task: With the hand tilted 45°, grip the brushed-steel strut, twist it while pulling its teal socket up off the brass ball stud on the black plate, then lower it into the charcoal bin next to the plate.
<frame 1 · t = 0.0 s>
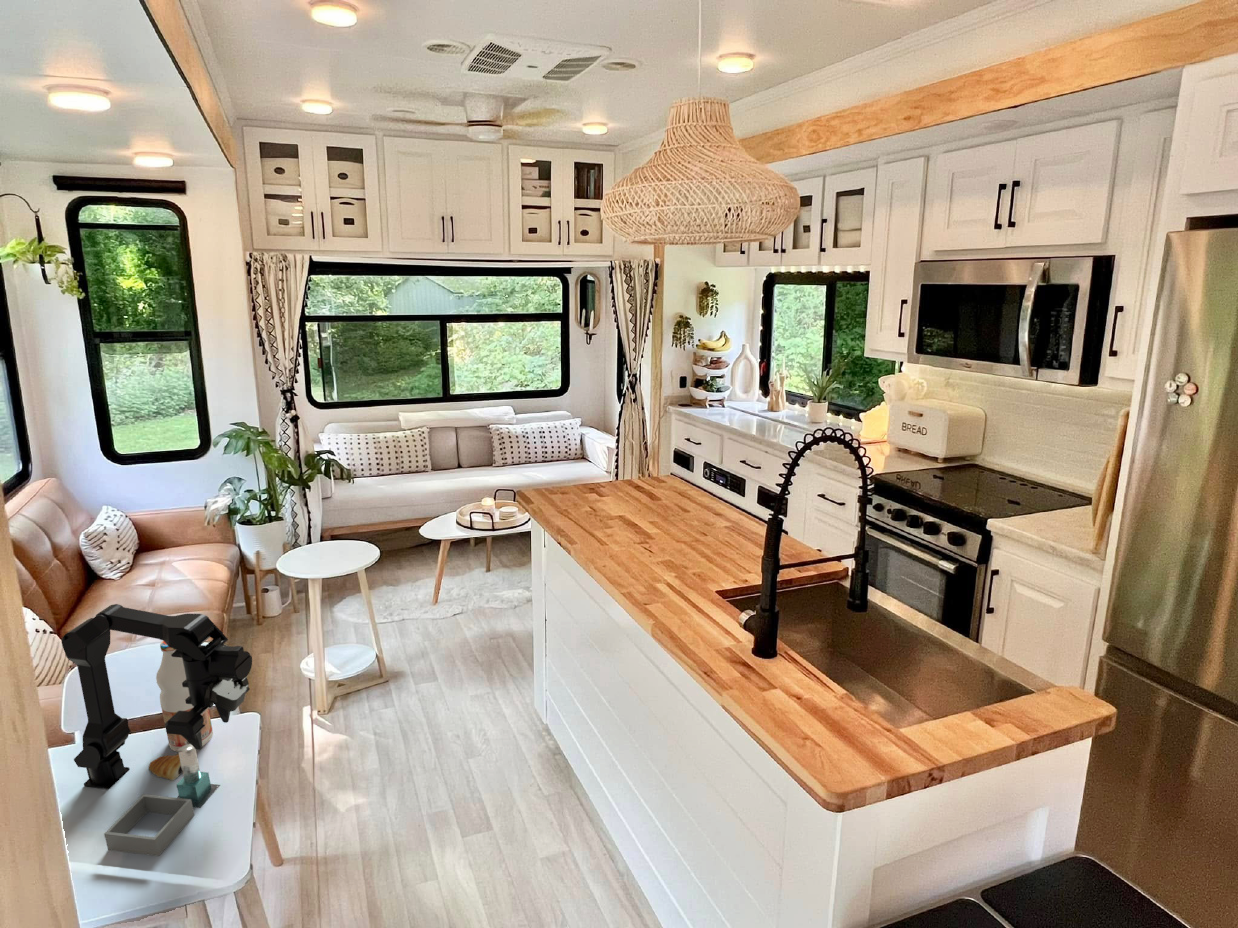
hand: (212, 735, 167), 15 cm above the table, tool pointing down, fingers open, 9 cm apart
fruit juice: (192, 742, 187), on the table
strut: (195, 794, 169), point 1 cm above the table, touching stud stand
pastry: (172, 773, 177), on the table
bin: (153, 835, 159), on the table
stud stand: (196, 798, 169), on the table
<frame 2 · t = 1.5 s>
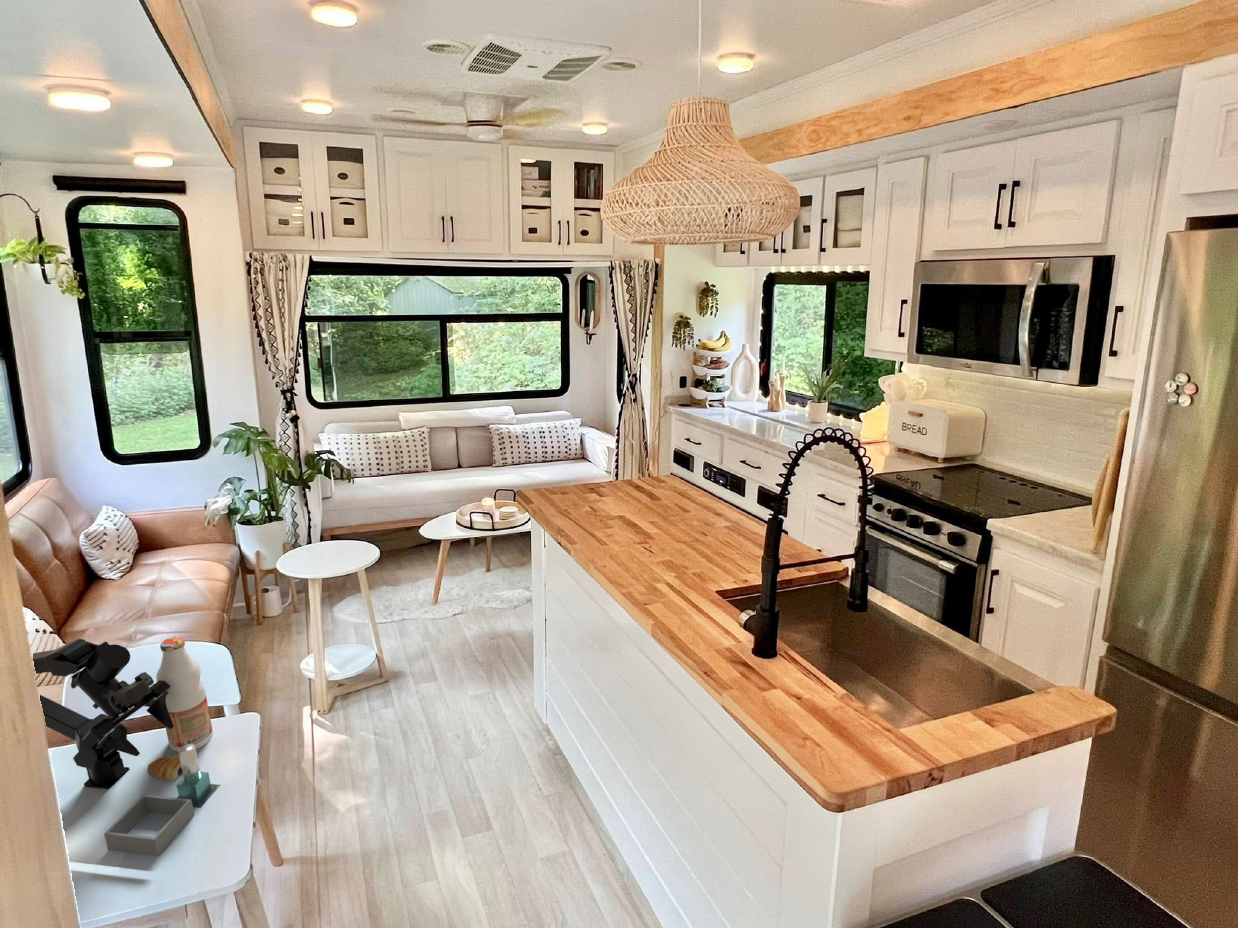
hand: (155, 740, 167), 13 cm above the table, tool tilted 45°, fingers open, 9 cm apart
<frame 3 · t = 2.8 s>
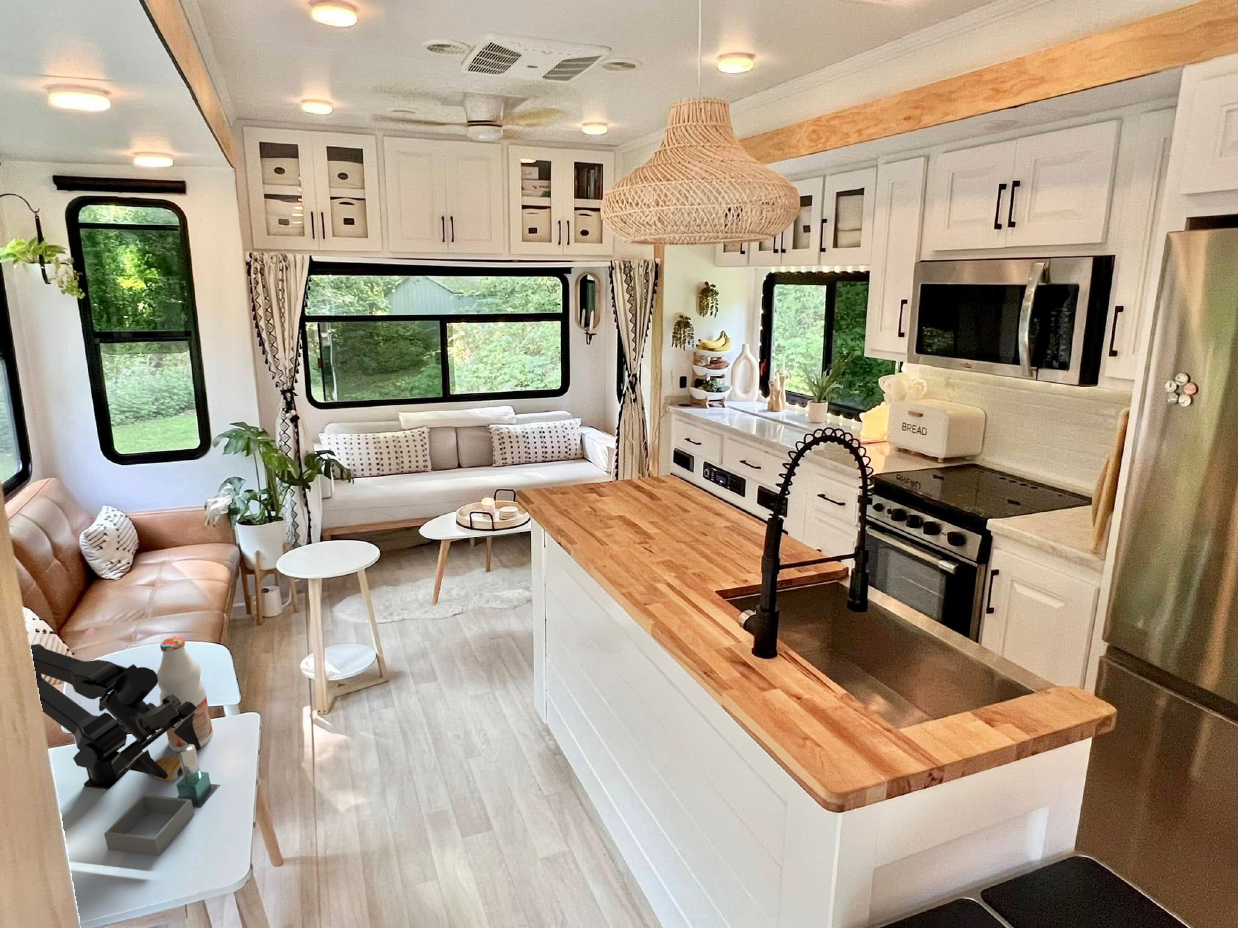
hand: (183, 762, 167), 9 cm above the table, tool tilted 45°, fingers open, 9 cm apart
nothing on the table moved.
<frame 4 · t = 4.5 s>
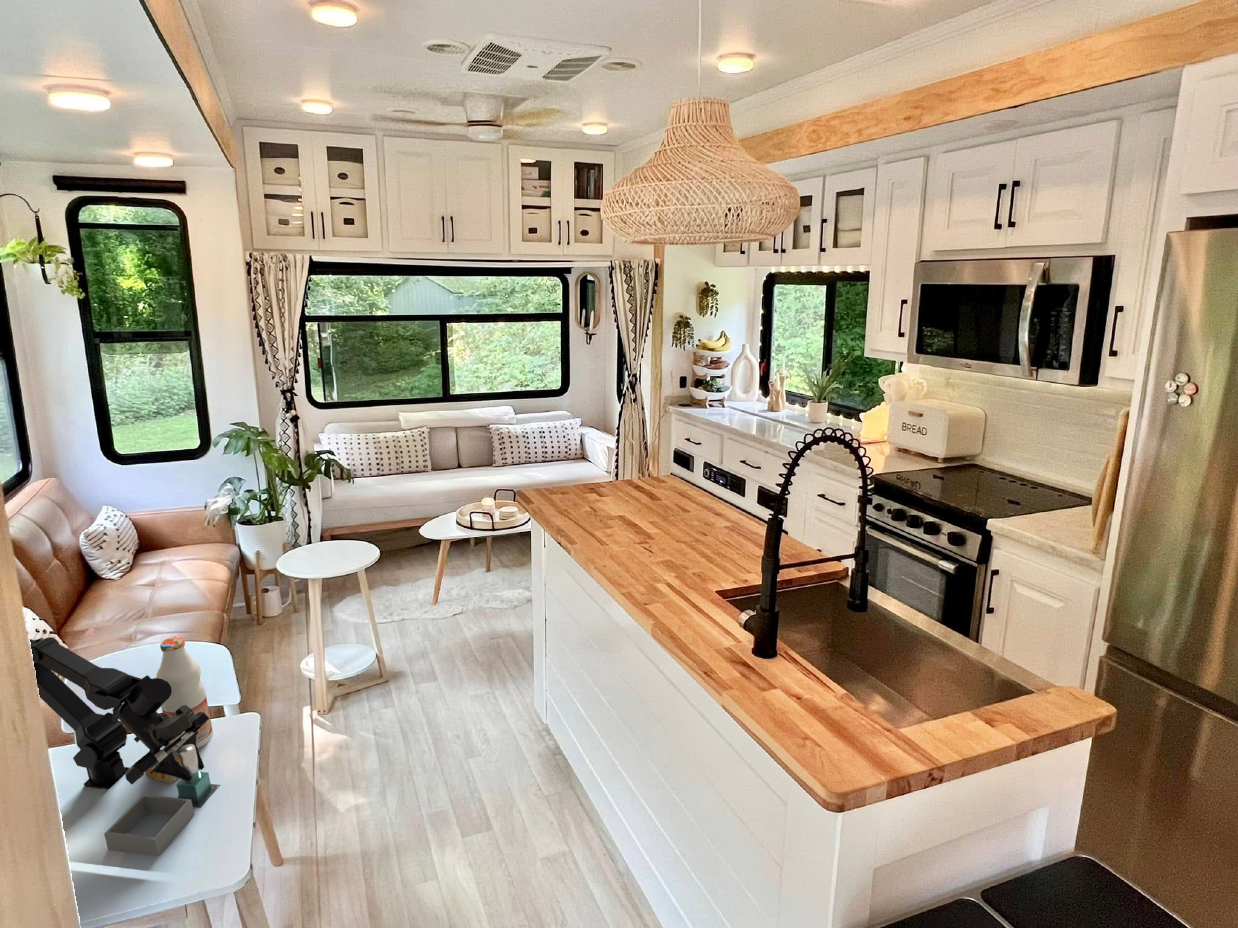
hand: (196, 773, 167), 7 cm above the table, tool tilted 45°, fingers closed on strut, 3 cm apart
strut: (195, 794, 169), point 1 cm above the table, touching gripper, stud stand
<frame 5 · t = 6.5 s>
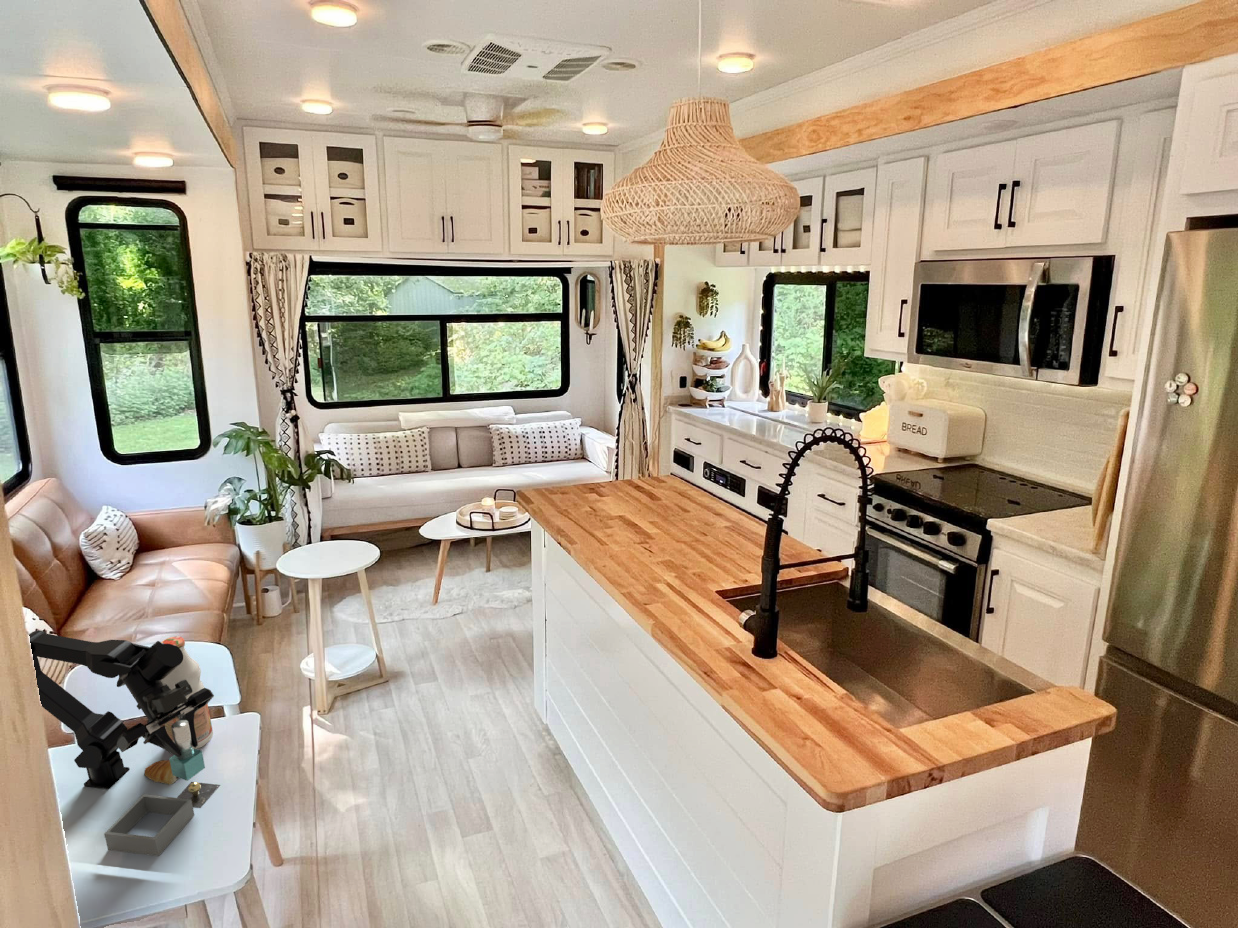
hand: (188, 751, 164), 13 cm above the table, tool tilted 45°, fingers closed on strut, 3 cm apart
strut: (188, 771, 166), point 8 cm above the table, touching gripper
when the fingers open (8 cm above the table, at t = 8.7 s): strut drops 2 cm, resting on bin.
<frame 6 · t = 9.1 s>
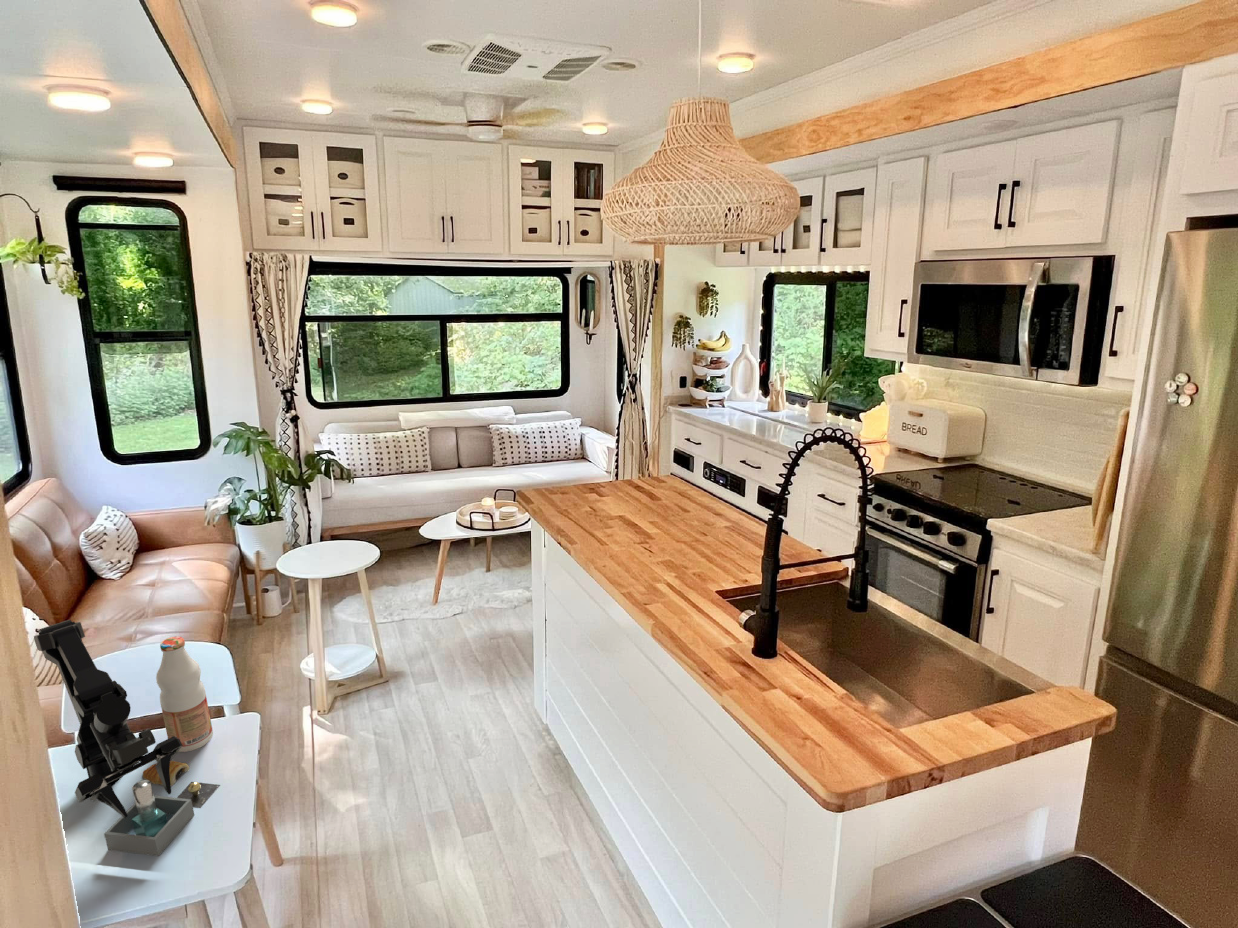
hand: (148, 805, 156), 9 cm above the table, tool tilted 45°, fingers open, 8 cm apart
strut: (152, 832, 159), point 1 cm above the table, touching bin
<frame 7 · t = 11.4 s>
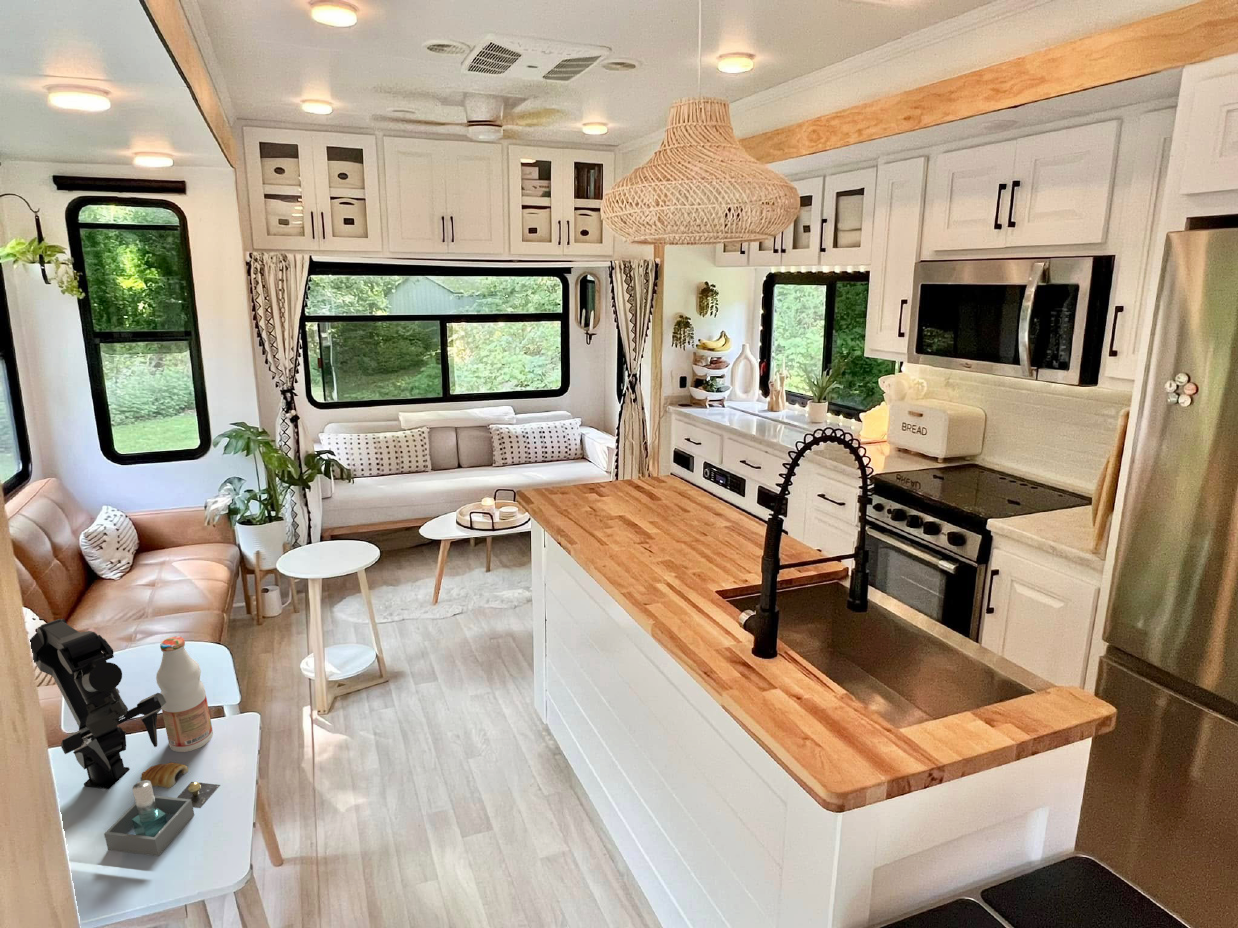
hand: (133, 757, 163), 13 cm above the table, tool tilted 30°, fingers open, 9 cm apart
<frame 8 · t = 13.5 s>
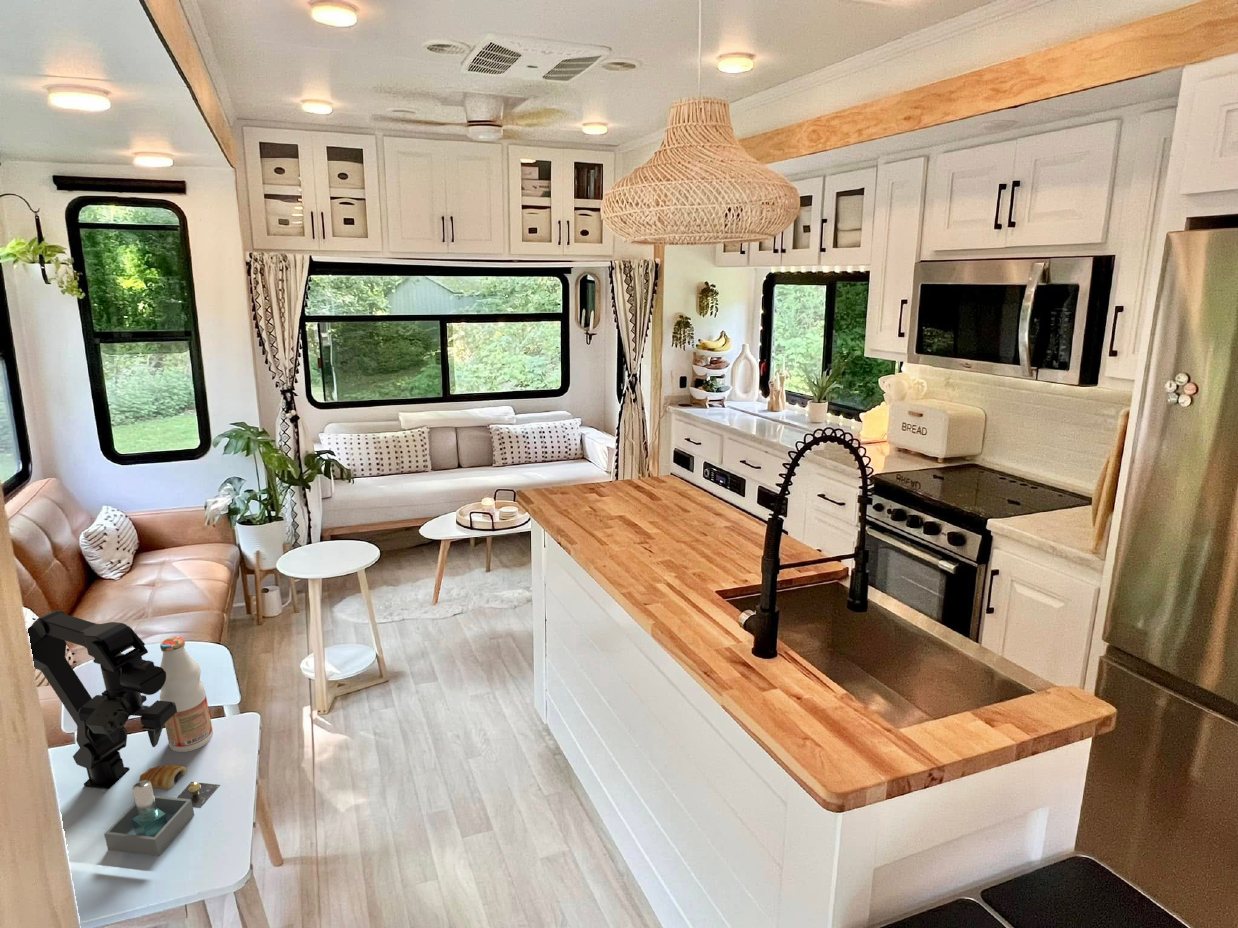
hand: (135, 743, 167), 13 cm above the table, tool pointing down, fingers open, 9 cm apart
at the end: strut inside the target area on the bin (0.1 cm from its centre), point 0.6 cm above the bin's base; the gripper is holding nothing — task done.
